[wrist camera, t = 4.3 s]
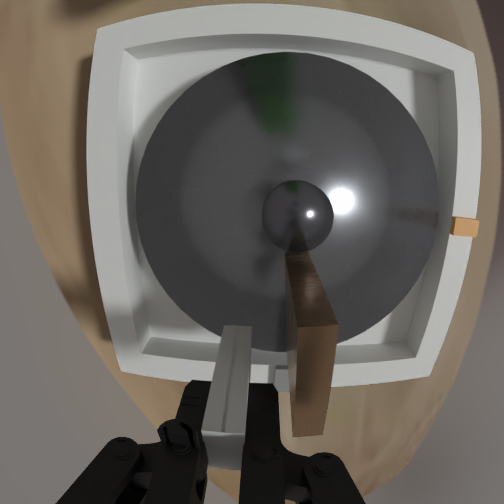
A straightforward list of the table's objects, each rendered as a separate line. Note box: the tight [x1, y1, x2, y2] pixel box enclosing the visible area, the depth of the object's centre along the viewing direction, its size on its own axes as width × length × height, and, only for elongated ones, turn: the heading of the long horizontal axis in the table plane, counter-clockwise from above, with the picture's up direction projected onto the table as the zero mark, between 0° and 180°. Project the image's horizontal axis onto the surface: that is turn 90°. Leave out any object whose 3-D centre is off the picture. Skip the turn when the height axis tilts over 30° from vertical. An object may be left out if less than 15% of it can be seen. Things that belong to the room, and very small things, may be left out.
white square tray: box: [87, 4, 481, 392], centre depth 15 cm, size 22×22×4 cm
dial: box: [135, 52, 439, 437], centre depth 11 cm, size 16×16×8 cm
